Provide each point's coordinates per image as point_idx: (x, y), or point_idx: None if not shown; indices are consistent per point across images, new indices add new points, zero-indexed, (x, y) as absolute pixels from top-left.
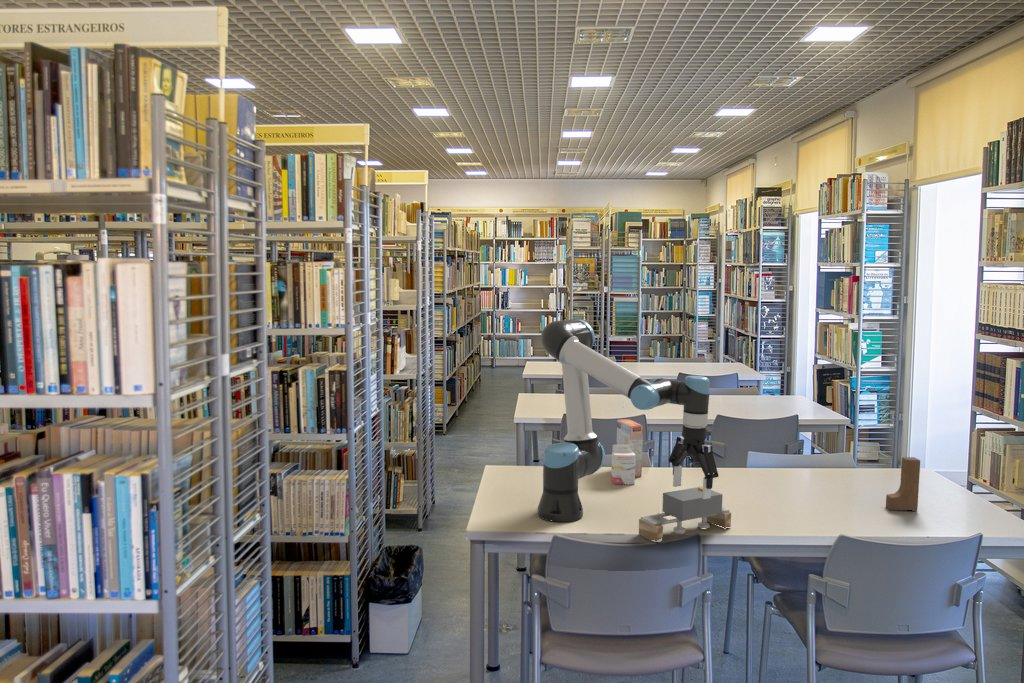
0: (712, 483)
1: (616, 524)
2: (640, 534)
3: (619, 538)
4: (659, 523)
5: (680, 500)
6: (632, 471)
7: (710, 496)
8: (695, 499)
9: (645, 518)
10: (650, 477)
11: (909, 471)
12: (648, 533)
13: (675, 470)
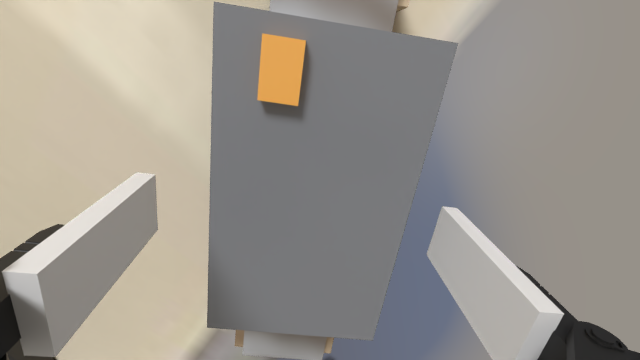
0: (552, 297)
1: (134, 297)
2: None
3: (241, 354)
4: (324, 343)
5: (353, 338)
6: None
7: (461, 214)
8: (391, 269)
9: (262, 352)
10: None
11: None
12: None
13: (81, 321)
